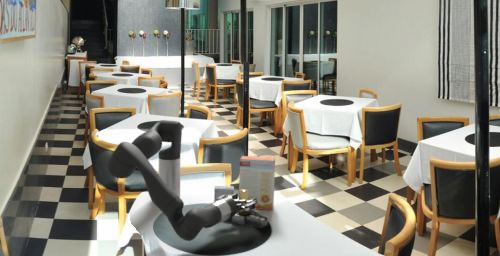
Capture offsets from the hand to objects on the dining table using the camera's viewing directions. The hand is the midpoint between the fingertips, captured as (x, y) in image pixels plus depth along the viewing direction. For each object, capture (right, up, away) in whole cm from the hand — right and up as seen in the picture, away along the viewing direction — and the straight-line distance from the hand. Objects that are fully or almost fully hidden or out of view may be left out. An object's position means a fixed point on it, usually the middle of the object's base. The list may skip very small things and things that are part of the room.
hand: (246, 198), depth 172 cm
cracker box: (+4, -6, +15) cm, 17 cm away
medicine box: (-9, -6, +13) cm, 17 cm away
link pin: (-1, -9, 0) cm, 9 cm away
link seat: (-1, -9, 0) cm, 9 cm away
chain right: (+4, -9, -3) cm, 11 cm away
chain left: (-6, -8, +3) cm, 11 cm away
